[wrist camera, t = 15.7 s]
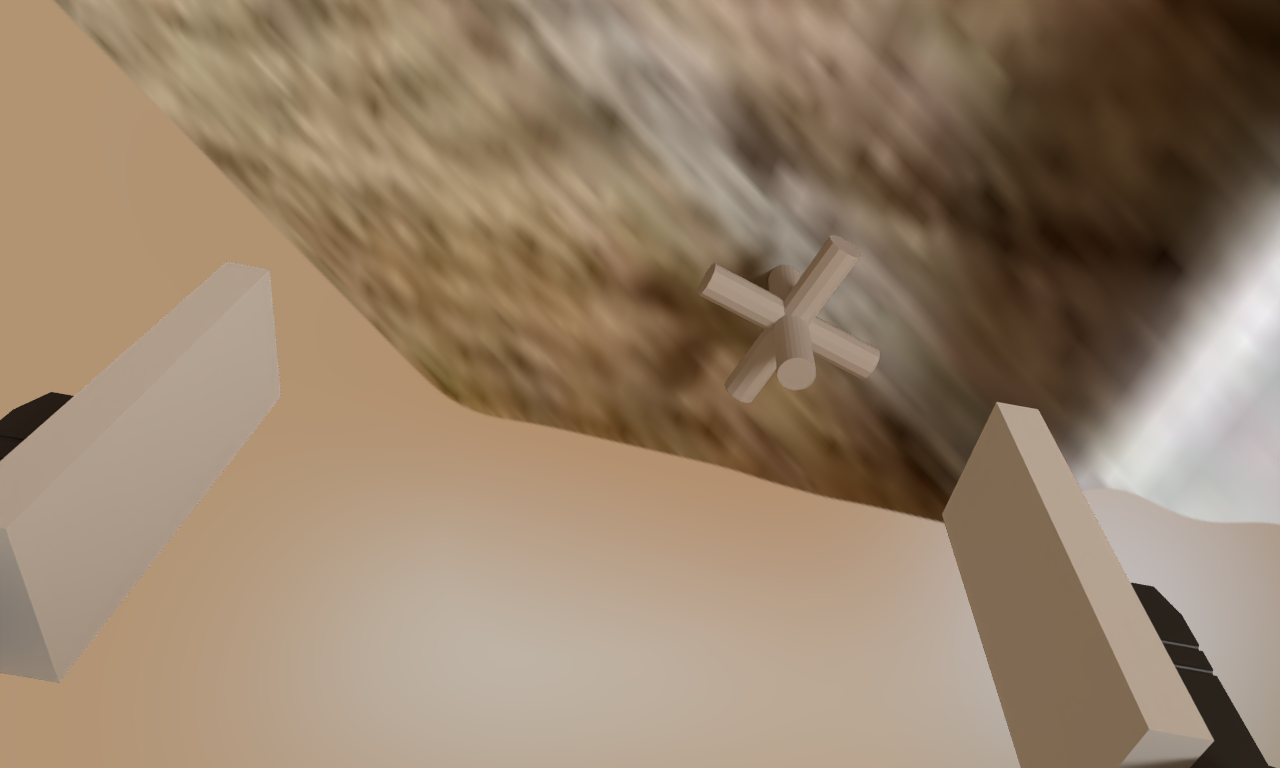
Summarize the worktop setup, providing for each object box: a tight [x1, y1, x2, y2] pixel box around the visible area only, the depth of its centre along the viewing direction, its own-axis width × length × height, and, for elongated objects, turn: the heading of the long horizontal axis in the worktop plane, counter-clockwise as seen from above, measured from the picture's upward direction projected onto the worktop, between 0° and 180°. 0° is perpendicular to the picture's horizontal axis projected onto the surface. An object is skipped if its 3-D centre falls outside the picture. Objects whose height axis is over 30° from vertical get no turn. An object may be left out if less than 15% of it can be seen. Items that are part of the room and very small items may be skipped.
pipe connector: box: [698, 235, 880, 403], centre depth 45 cm, size 10×10×10 cm
